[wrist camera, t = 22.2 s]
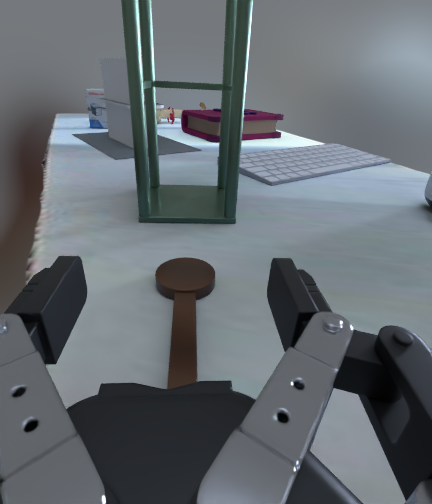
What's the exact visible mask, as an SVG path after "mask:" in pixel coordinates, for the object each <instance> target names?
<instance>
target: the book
mask: <svg viewBox="0 0 432 504" xmlns="http://www.w3.org/2000/svg"><path fill="white" fill-rule="evenodd" d="M283 116H284V115H281V114H273V113H267V112H262V111H256V110H250V109H244V116H243V129H242V140H248V139H262V138H280V137H281V132H277V131H276V129H275V126H276V122H277V120H283ZM220 124H221V109H213V110H183V111H182V114H181V126H182V130H183V132H185V133H188V134H191V135H194V136H197V137H200V138H203V139H206V140H207V141H210V142H220Z"/></svg>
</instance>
